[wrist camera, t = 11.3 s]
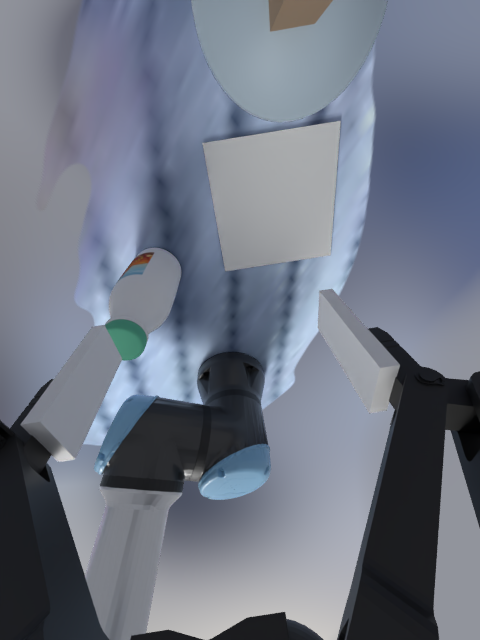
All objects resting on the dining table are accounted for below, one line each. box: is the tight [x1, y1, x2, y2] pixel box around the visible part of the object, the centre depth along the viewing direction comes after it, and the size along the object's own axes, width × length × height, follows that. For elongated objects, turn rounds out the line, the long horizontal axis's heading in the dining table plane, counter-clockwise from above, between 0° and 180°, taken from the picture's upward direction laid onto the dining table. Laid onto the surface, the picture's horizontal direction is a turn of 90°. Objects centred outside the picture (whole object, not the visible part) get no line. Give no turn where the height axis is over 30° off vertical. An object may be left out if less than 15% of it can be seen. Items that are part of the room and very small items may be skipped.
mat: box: [202, 121, 341, 271], centre depth 38 cm, size 18×18×1 cm
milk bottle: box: [105, 248, 181, 360], centre depth 34 cm, size 8×8×20 cm
